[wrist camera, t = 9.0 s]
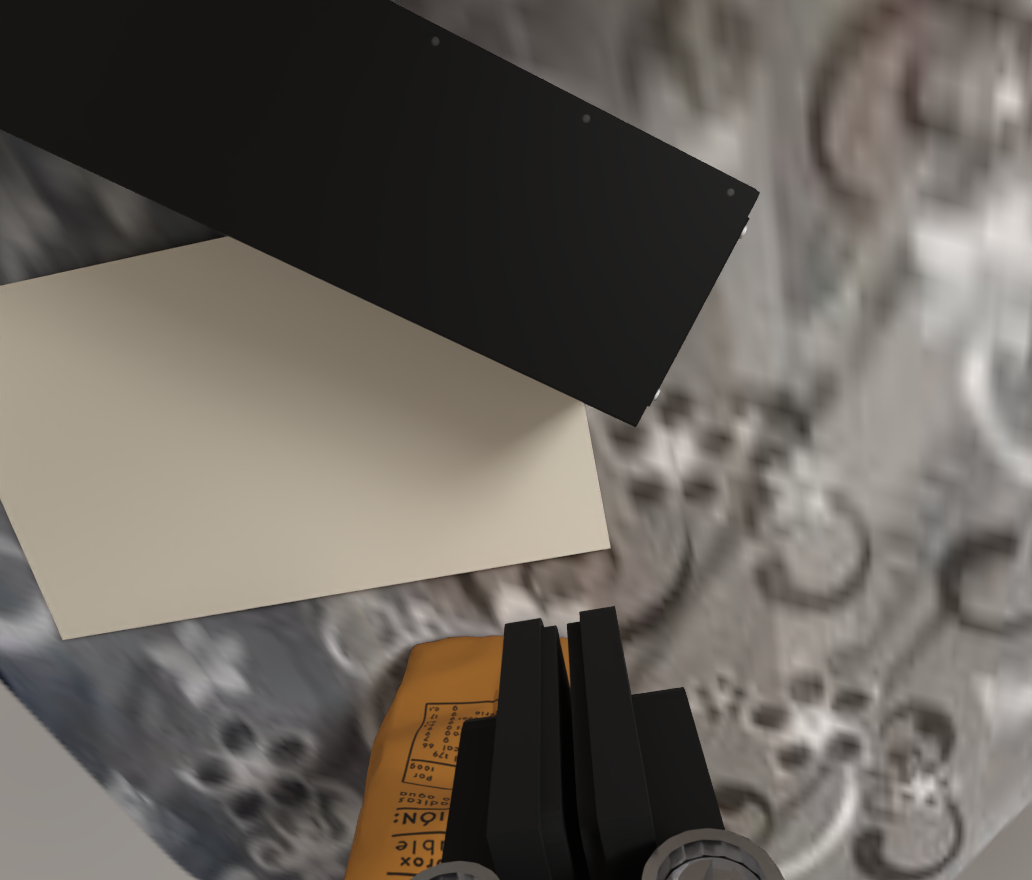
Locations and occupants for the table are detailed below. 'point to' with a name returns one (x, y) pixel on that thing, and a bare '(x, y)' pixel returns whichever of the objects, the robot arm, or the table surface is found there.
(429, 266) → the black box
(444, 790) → the coffee package
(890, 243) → the table surface
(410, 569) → the mat
